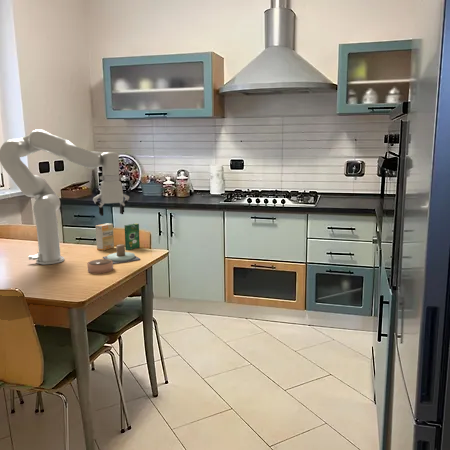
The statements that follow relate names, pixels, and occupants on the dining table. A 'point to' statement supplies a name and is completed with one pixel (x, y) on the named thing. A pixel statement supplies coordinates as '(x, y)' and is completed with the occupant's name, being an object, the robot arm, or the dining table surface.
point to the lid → (121, 254)
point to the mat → (124, 261)
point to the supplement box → (104, 236)
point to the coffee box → (132, 236)
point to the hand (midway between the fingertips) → (111, 214)
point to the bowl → (100, 266)
